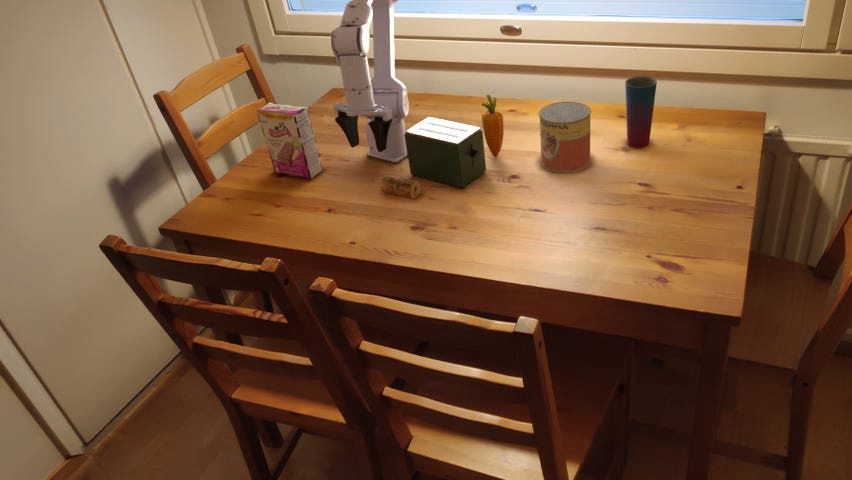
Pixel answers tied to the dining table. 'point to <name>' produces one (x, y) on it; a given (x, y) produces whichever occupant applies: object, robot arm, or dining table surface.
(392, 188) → the tan cylinder with hole
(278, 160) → the candy bar box
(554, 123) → the canned food
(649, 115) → the cup
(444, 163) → the toaster
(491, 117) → the carrot
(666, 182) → the dining table surface
